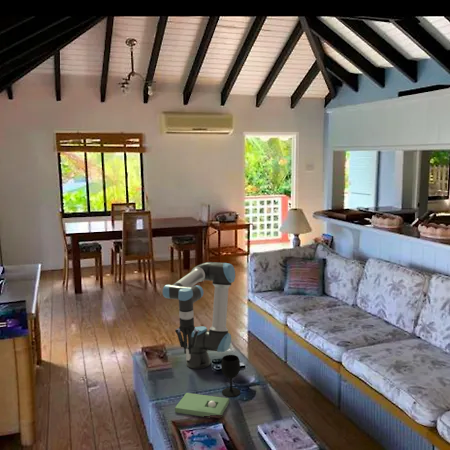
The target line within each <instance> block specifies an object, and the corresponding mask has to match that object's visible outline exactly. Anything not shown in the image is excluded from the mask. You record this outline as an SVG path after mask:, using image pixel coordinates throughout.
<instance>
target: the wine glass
mask: <svg viewBox="0 0 450 450" xmlns="http://www.w3.org/2000/svg"><path fill="white" fill-rule="evenodd" d="M220 367H221V368H220V369H221V372H222V374H223V376H224V377H225V378H227V379H229V387H225V388H224V389H222V390H221V394H222V395H223V396H224V397H225V398H226V397H227V398H235V397H238V396H240V395H241V390H240V389H239V388H237V387H234V386H233V379H234V378H236V377H237V376H238V375H239V373H240V371H241V362H240V358H239V356H238V355H235V354H226V355H224V356H223V357H222V359H221V364H220Z"/></svg>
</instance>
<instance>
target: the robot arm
mask: <svg viewBox="0 0 450 450" xmlns="http://www.w3.org/2000/svg"><path fill="white" fill-rule="evenodd" d="M235 280H236V270H235V266H234V265H233V264H231V263H227V262H215V261H214V262H213V261H207V262H203V263H200V264H198V265H195V267H193V268H192V269H191V271H190V272H189V273H187V274H186V275H184V276H183V277H182V278H180V279H179V280H177V281H176V282H175V283H173V284H165V285H164V286H163V287H162V296H163V297H164V298H165V299H168V300H171V299H172V300H178V308H179V309H178V314H179V327H178V328H176V329H175V331H174V333H176V334H177V339H178V341H179V346H180V348H183V350H184V353H183V354H184V355H185V357H186V358H185V360H186V361H185V363H186V366H187V367H188V368H191V369H196V370H198V369H199V370H200V369H205V368H207V367H209V366H210V365H211V357H210V355H209V352H208V351H211V352H217V353H226V352H227V351H228V350H229V348H230V346H231V342H232V335H231V333H229V329H228V328H227V317H228V316H227V315H228V299H229V288H230V287H231V286H232V283H234V282H235ZM203 281H209V282H212V285H213V286H214V291H213V293H214V295H213V307H212V322H211V326H210V327H209V330H208V328H207V326H204V325H202V326H195V319H194V314H195V313H194V304H195V303H196V302H197V301H199V300H201V298H203V296H204V289H203V287H202V286H201V285H198V283H200V282H203ZM196 284H197V285H196Z"/></svg>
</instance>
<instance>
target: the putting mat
mask: <svg viewBox="0 0 450 450" xmlns="http://www.w3.org/2000/svg"><path fill="white" fill-rule="evenodd" d="M210 401H214V402H215V403H216V406H215V408H212V407H208V403H209V402H210ZM229 404H230V397H227V398H226V397H221V396H215V395H213V396H212V395H207V394H206V395H205V394H198V393H191V392H186V393H185V394H184V395H183V397H182V398H181V399H180V401H179V402H178V403H177V404H176V406H175V407H174V413H178V414H183V415H190V416H191V415H192V416H197V417H204V416H210V415H222V416H223V415H224V413H225V411H226V409H227V408H228V405H229Z"/></svg>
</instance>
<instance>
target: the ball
mask: <svg viewBox="0 0 450 450" xmlns="http://www.w3.org/2000/svg"><path fill="white" fill-rule="evenodd" d="M215 406H216V403H215V402H214V401H210V402H209V403H208V407H212V408H215Z"/></svg>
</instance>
